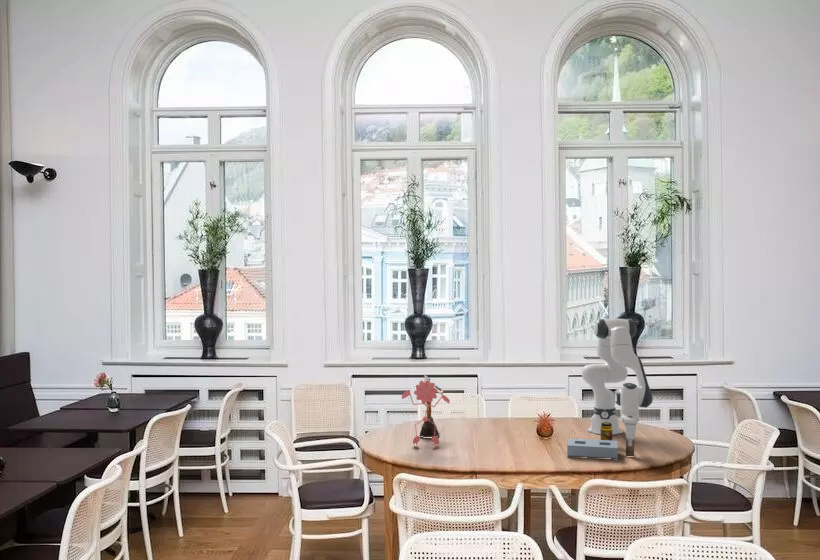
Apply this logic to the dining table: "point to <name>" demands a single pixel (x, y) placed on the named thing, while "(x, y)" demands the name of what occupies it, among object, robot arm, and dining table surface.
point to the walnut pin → (629, 448)
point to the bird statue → (430, 418)
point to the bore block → (592, 448)
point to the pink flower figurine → (425, 394)
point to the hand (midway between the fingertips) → (629, 444)
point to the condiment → (606, 431)
